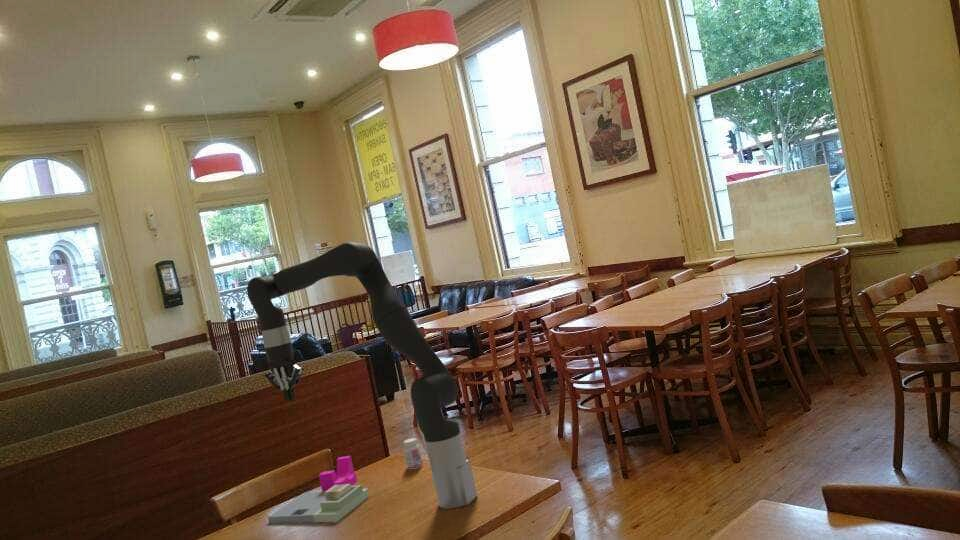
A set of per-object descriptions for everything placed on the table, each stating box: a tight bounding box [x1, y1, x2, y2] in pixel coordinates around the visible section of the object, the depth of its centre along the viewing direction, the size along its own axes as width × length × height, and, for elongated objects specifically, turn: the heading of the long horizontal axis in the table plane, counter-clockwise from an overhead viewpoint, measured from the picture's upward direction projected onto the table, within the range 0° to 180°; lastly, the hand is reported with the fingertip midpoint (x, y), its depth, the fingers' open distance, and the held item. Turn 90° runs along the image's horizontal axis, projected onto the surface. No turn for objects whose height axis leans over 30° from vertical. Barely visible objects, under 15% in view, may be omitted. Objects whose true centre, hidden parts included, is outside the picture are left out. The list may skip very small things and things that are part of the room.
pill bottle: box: [403, 437, 424, 470], centre depth 205 cm, size 5×5×8 cm
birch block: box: [324, 484, 352, 501], centre depth 181 cm, size 5×5×4 cm
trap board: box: [267, 484, 371, 524], centre depth 184 cm, size 22×16×4 cm
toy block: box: [318, 455, 358, 491], centre depth 200 cm, size 15×6×8 cm, turn 169°
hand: (290, 401), depth 196 cm, fingers closed
